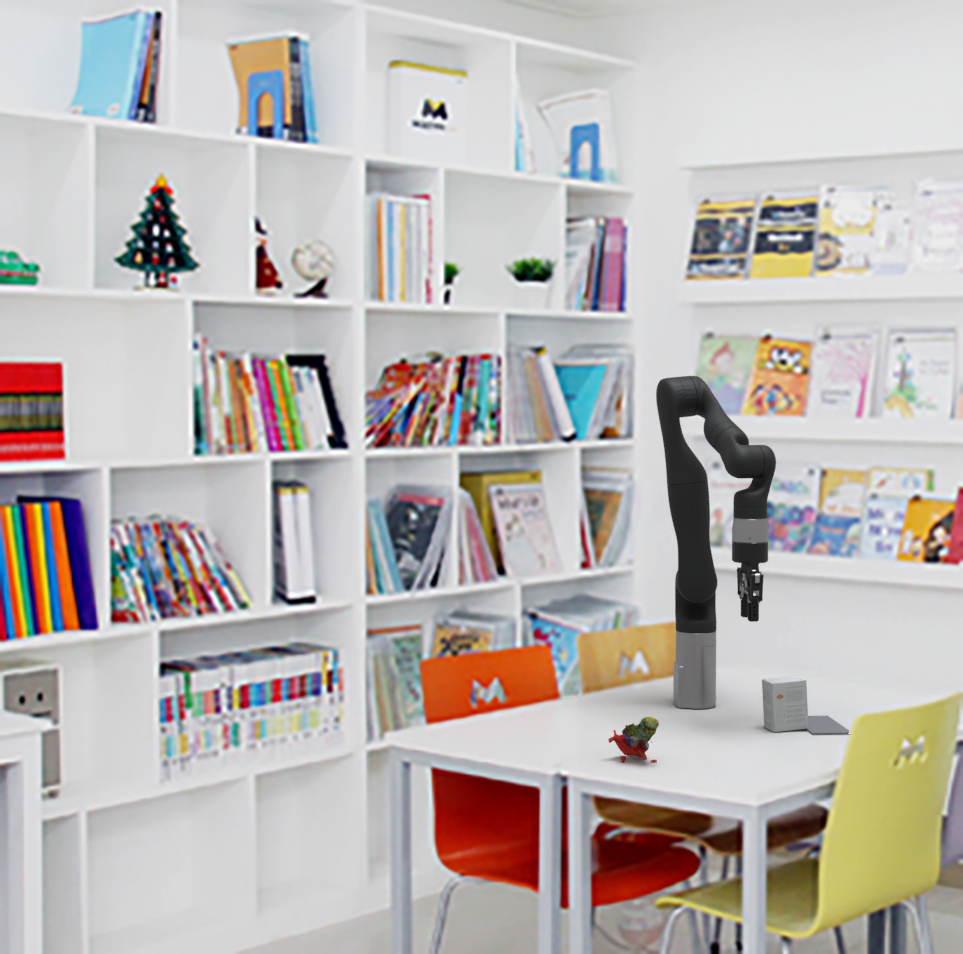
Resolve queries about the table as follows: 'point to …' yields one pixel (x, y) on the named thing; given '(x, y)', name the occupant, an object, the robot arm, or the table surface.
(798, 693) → the small box
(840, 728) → the mat
